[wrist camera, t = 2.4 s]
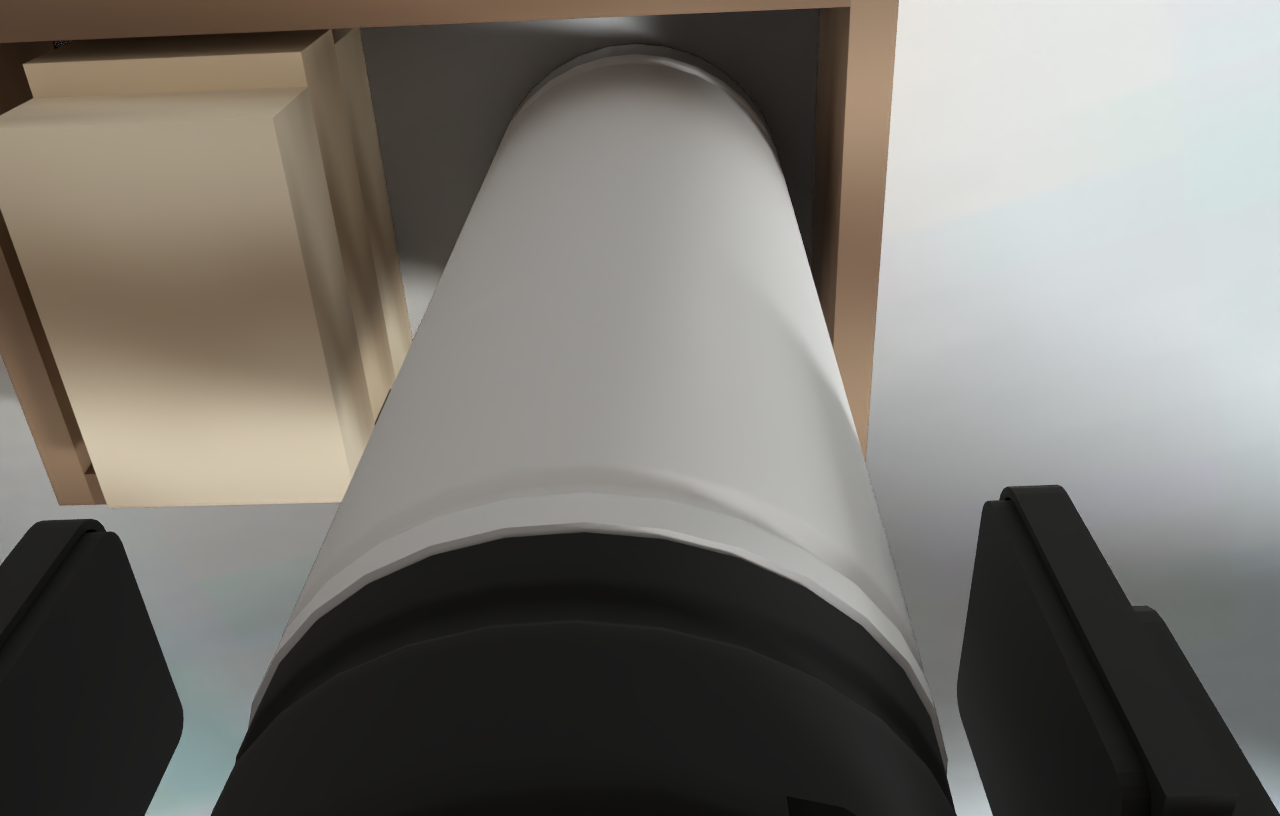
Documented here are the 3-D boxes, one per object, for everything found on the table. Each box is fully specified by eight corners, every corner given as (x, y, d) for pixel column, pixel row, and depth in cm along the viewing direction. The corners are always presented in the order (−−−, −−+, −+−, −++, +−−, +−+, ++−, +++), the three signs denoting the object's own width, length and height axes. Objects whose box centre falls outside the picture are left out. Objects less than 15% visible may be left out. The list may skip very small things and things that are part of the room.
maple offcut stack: (416, 359, 27) (355, 502, 21) (216, 365, 27) (108, 507, 22) (357, 8, 22) (264, 80, 17) (120, 19, 23) (-42, 93, 18)
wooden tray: (838, 392, 27) (864, 485, 23) (135, 412, 27) (59, 505, 24) (863, -77, 21) (902, -47, 18) (-11, -38, 22) (-136, -1, 19)
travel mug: (429, 196, 24) (-141, 1232, 7) (636, -26, 22) (523, 739, 5) (629, 371, 27) (560, 1489, 9) (838, 186, 24) (1268, 1245, 7)
